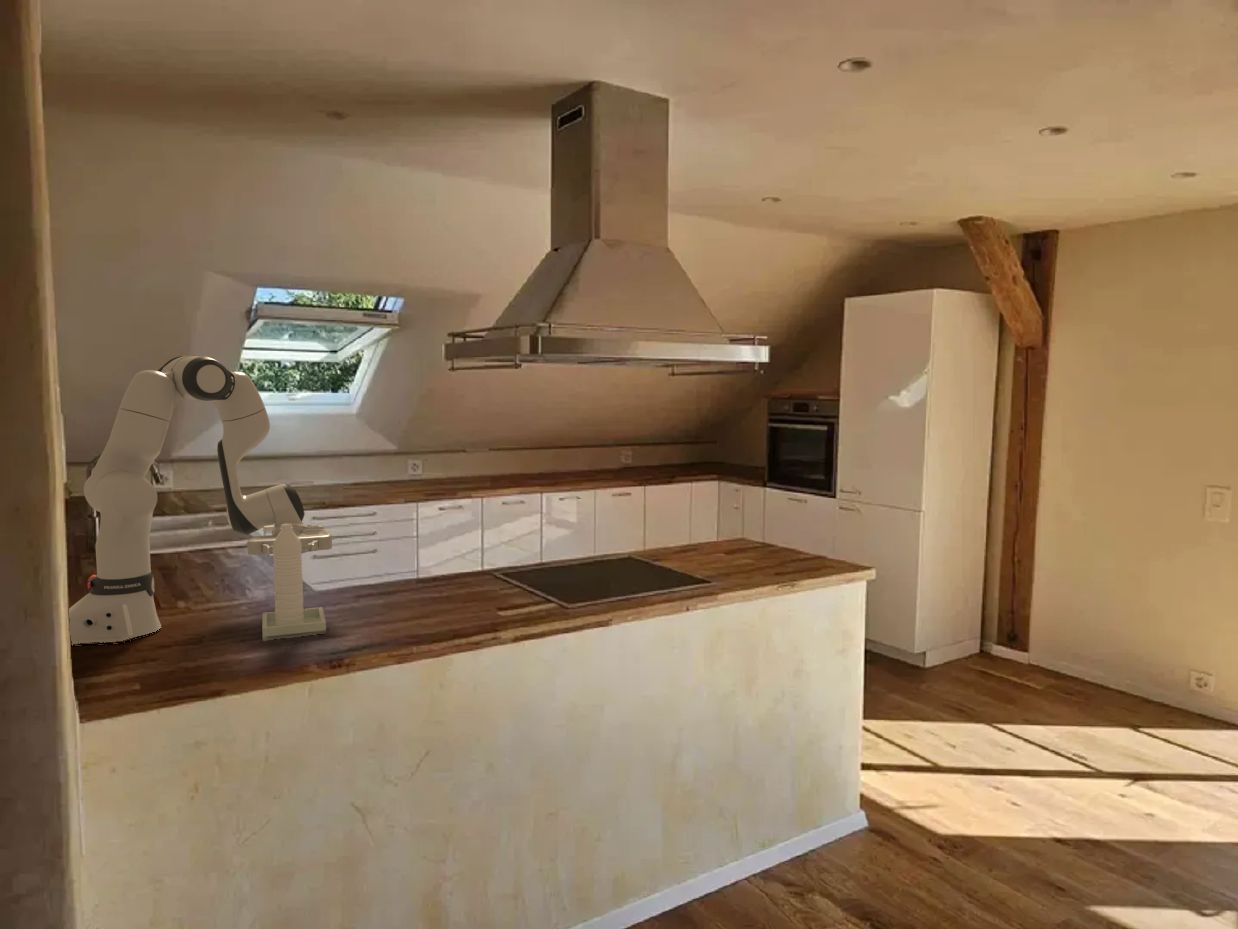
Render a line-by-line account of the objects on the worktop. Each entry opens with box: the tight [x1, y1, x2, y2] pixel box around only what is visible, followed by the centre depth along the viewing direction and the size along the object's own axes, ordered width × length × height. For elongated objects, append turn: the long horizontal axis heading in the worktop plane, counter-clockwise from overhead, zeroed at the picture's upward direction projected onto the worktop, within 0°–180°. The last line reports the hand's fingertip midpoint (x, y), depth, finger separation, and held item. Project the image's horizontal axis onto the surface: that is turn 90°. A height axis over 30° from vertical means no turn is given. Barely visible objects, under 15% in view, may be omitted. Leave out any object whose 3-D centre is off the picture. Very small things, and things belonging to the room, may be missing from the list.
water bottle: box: [262, 524, 305, 626], centre depth 203 cm, size 9×6×25 cm
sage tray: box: [261, 606, 327, 642], centre depth 205 cm, size 14×14×3 cm
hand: (290, 549), depth 209 cm, fingers open, 8 cm apart
